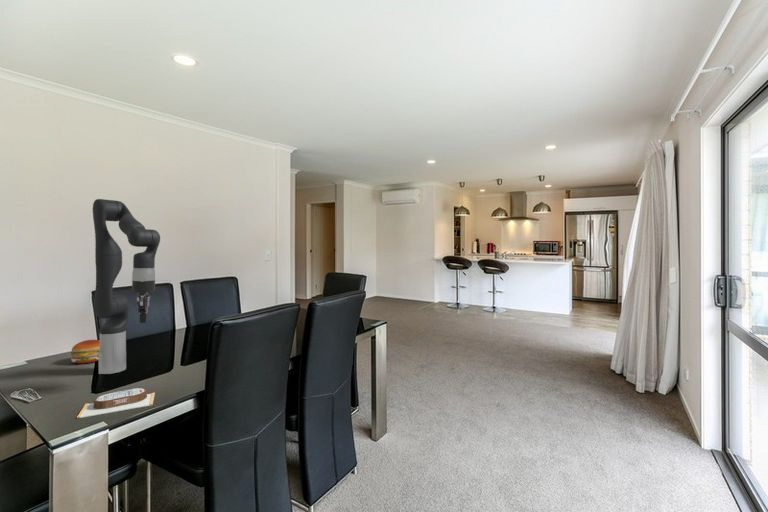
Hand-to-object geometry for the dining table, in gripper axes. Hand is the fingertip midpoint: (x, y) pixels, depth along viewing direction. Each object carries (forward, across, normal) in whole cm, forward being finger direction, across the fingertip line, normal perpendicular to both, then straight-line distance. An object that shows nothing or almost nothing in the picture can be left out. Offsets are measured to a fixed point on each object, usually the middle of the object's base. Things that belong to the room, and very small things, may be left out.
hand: (143, 322), depth 140 cm
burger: (+26, -47, -27) cm, 60 cm away
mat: (+24, +20, -4) cm, 32 cm away
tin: (+22, +13, -5) cm, 27 cm away
